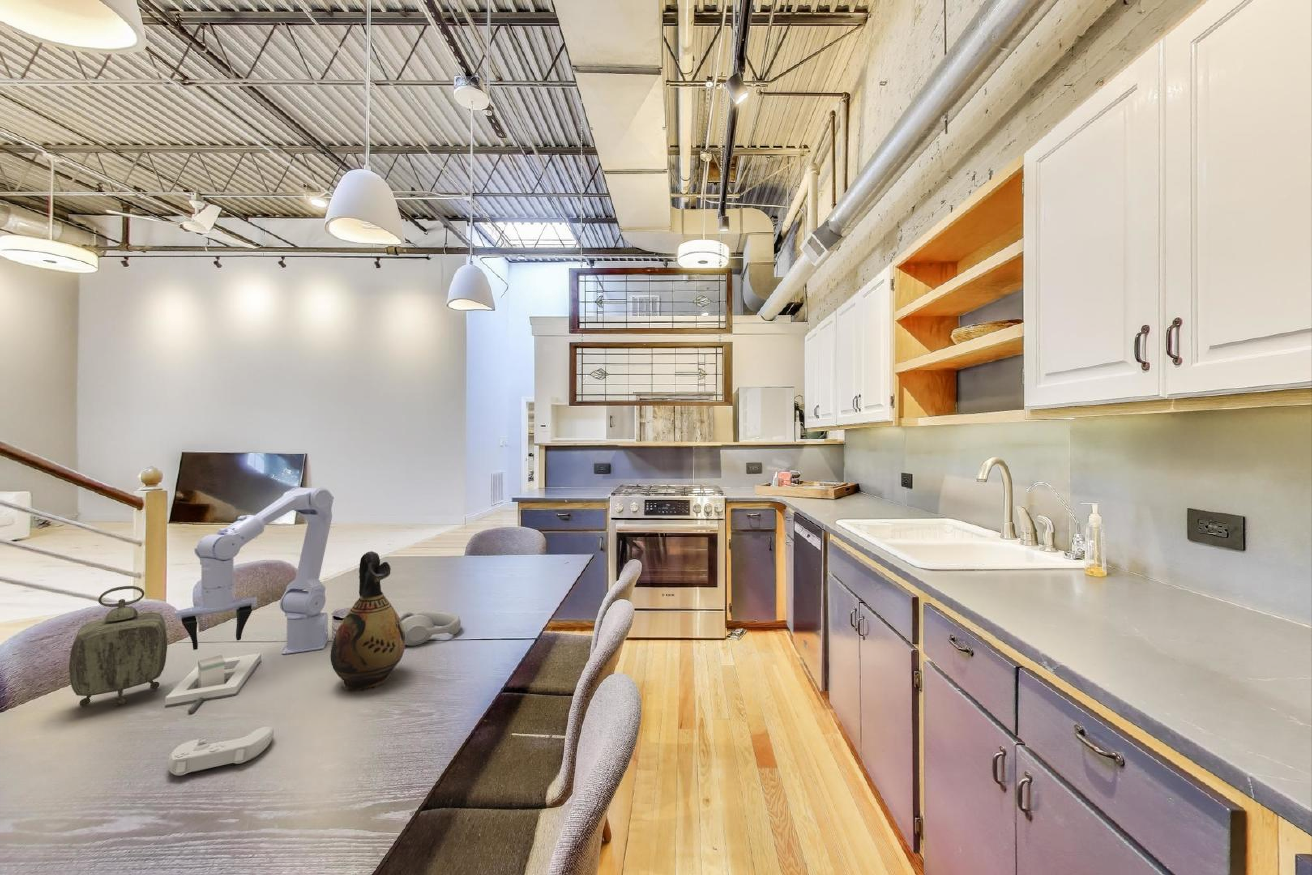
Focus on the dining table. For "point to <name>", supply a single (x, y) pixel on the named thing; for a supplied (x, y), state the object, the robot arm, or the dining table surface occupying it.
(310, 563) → the robot arm
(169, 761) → the game controller
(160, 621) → the tabletop clock
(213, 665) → the block
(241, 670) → the power strip
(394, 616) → the ceramic jug
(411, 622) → the headphones
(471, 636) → the dining table surface
